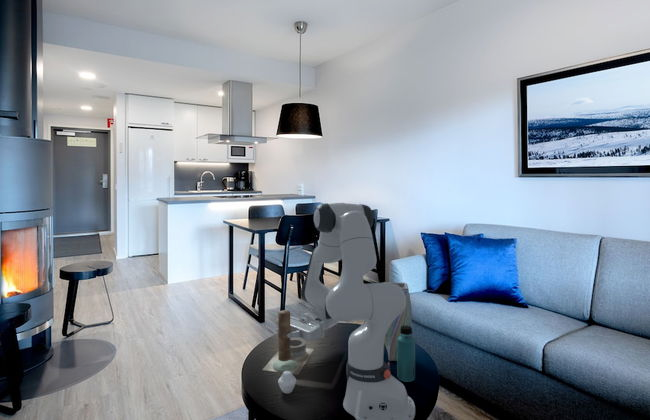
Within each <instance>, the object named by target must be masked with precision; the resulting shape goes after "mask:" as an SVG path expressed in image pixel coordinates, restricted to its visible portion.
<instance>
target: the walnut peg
mask: <svg viewBox="0 0 650 420" xmlns="http://www.w3.org/2000/svg"><path fill="white" fill-rule="evenodd" d="M290 316H291V311H290V310H285V309H284V310H280V311H278V312H277V317H278V318H277V319H278V333H277V336H278V340H277V341H278V347H277V348H278V350H277V351H279V360H280V361H288V360H290V339H291V338H287V337H286V336H287V335H286V334H287V333H288V332H290Z"/></svg>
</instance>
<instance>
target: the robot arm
mask: <svg viewBox="0 0 650 420" xmlns="http://www.w3.org/2000/svg"><path fill="white" fill-rule="evenodd" d="M313 223H314V227H315V229H317V231H318V232H319V239H318V240H319V241H318V245H317V247H315V248H314V249H313V250H312V252H311V255H310V256H309V257H310V258H309V260H308V266H307V269H306V273H305V277H304V281H303V284H301V288H300V297H301V299H302V301H304V302H306V303H307V304H310V305H312V306H314V307H315V309H314V310H311V311H309V312H305V313H302V314H301V315H300V316H299V317H295V316H292V315H290V332H288V333H287V334H286V335H287V336H286V337H287V338H290V339H293V338H299V339H302V340H304V341H307V342H315V341H317V340H319V339H323V338H324V337H325V331H326V330H328V329H330V328H332V327H335V326H336V325H337V324H338V323H339V322H347V323H349V322H360V321H362V323H361V325H360V326H359V327H357V328H356V329H355V330H354V331H352V332H351V334H350V335H349V338H348V342H347V343H348V347H347V348H348V352H347V353H348V356H347V357H348V358H347V361H346V379H347V380H346V381H347V382H346V390H345V396H344V398H343V403H342V406H343V408H344V410H345V411H346V412H347V413H348V414H350V415H351V416H353V417H354V418H355V420H414V419H415V416H416V405H415V402H414V399H412V397H410V396H409V395H408V393H407V389H406V386H405V385H404V383H402V381H401V380H399V379H398V378H396V377H395V376H393V375H392V374H391V366H390V361H388V362H385V361H384V353H385V343H384V342H385V337H386V334H387V331H388V329H389V327H390V326H391V324H392V322H393V321H394V320H395V319H396V318H397V317H398V316H399V315H400V314H401V313H402V312H403V311H404V309H405V305H406V297H405V294H404V292H403V290H402V289H401V287H400V286H399V285H396V284H391V283H383V282H377V283H376V282H375V283H364V276H365V275H366V274H368V273H370V272H371V271H372V270H373V269H374V268H375V267H376V265H377V260H378V259H377V254H376V253H377V252H376V248H375V244H374V237H373V233H372V229H371V228H372V226H373V224H374V213H373V210H372V208H371V207H370V206H369V205H367V204H361V203H359V204H356V203H346V202H334V203H328V202H326V203H320V204H318V205H317V206H316V208H315V209H314V214H313ZM339 261H341V262H342V264H341V265H342V266H341V267H342V268H341V273H340V277H339V279H338V281H337V282H336V284H335V285H334V286H333V287H331V288H330V287H328V286H326V285H325V284H324V283H322V282H321V281H320V275H321V271H322V267H323V265H324V264H334V263H337V262H339ZM276 333H277V334H278V318H277V320H276Z"/></svg>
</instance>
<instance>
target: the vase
mask: <svg viewBox="0 0 650 420" xmlns="http://www.w3.org/2000/svg"><path fill="white" fill-rule="evenodd" d="M382 283H391V284H396V285H399V286H400V287H401V289H402V290H403V292H404V294H405V297H406V305H405V309H404V311H403V312H402V313H401V314H400V315H399V316H398V317H397V318H396V319H395V320H394V321H393V322H392V324H391V326H390V327H389V329H388V331H387V334H386V337H385V342H384V347H385V348H386V351H387V355H388V356H387V357H388V361H396V362H397V338H398V337H399V336H400V335H402V334H401V333H400V330H401V326H410V327H411V328H412V319H413V318H412V316H413V312H412V311H413V310H412V301H411V297H410V289H409V286H408V283H406V282H395V281H394V282H393V281H390V282H387V281H383V282H382Z"/></svg>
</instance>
